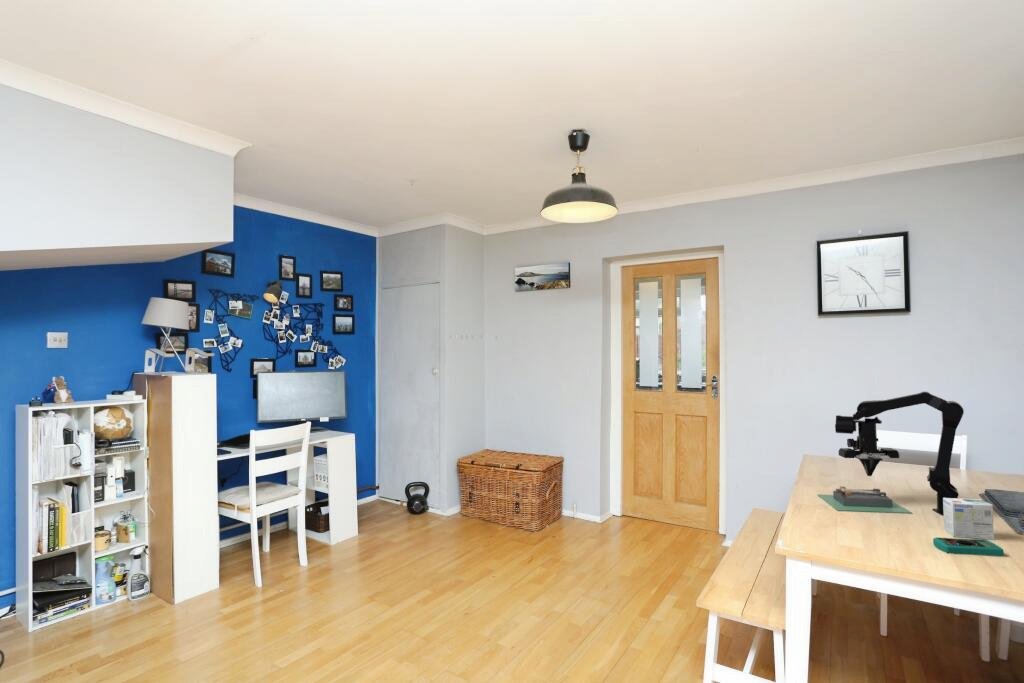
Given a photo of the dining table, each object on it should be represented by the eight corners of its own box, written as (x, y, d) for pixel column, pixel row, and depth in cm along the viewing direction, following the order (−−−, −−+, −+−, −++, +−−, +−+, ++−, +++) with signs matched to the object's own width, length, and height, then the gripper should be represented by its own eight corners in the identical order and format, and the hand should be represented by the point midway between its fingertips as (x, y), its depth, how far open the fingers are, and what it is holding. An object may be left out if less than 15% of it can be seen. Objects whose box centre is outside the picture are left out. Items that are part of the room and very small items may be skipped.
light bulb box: (982, 532, 169) (981, 498, 169) (995, 540, 162) (994, 504, 162) (942, 530, 172) (941, 496, 172) (953, 537, 165) (952, 502, 165)
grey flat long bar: (878, 495, 198) (879, 493, 198) (844, 492, 200) (844, 490, 200) (875, 493, 201) (875, 491, 201) (841, 490, 203) (841, 488, 203)
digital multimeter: (930, 545, 160) (930, 535, 160) (988, 548, 157) (987, 538, 157) (944, 555, 153) (944, 544, 153) (1005, 558, 150) (1005, 547, 150)
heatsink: (892, 507, 194) (892, 493, 194) (844, 506, 197) (843, 492, 197) (879, 499, 203) (878, 486, 203) (833, 498, 207) (833, 484, 207)
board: (912, 513, 188) (912, 512, 188) (837, 510, 193) (837, 509, 193) (884, 497, 207) (884, 496, 207) (817, 495, 212) (817, 494, 212)
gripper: (883, 431, 208) (885, 471, 207) (831, 431, 211) (833, 470, 211) (899, 435, 197) (901, 478, 196) (844, 436, 200) (845, 477, 200)
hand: (869, 475), depth 201 cm, fingers closed
